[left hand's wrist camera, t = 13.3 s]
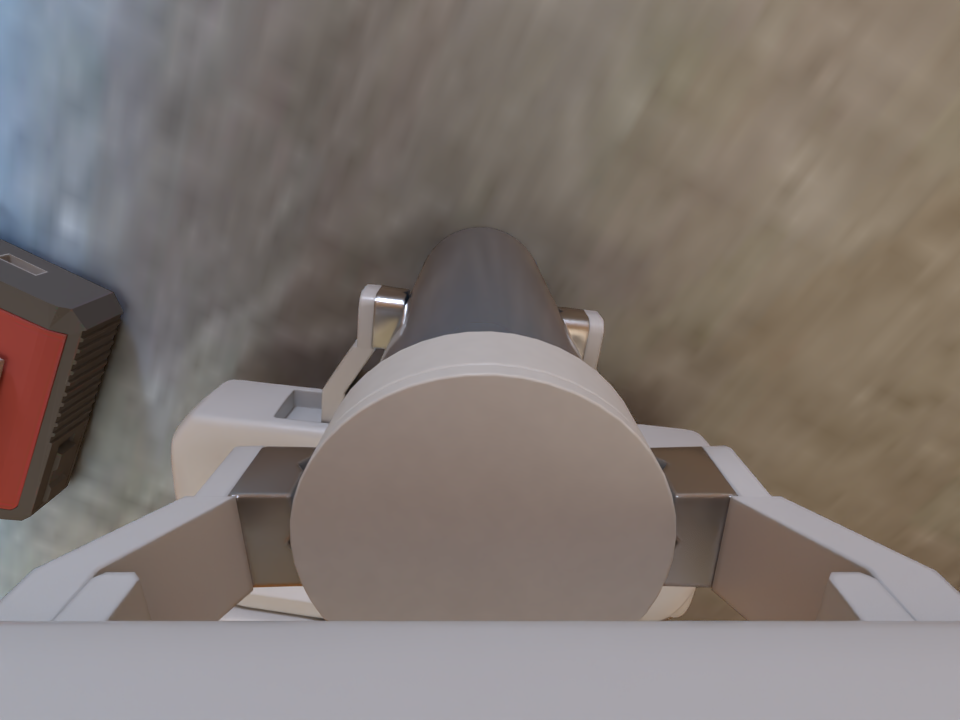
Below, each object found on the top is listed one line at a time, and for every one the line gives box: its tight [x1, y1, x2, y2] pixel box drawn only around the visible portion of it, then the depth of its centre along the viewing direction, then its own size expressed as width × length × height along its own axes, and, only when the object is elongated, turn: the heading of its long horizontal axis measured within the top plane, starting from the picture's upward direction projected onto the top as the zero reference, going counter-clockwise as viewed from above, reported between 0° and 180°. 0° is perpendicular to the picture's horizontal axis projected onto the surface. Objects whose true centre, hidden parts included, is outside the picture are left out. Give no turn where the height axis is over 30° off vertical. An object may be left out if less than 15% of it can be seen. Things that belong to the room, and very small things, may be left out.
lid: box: [290, 331, 676, 621], centre depth 9 cm, size 6×6×2 cm
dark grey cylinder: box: [379, 227, 583, 363], centre depth 16 cm, size 5×5×16 cm
